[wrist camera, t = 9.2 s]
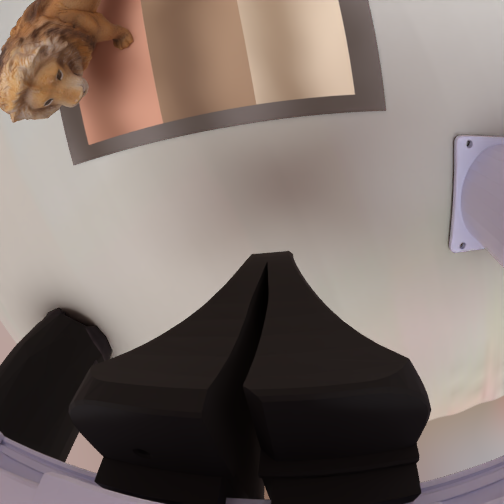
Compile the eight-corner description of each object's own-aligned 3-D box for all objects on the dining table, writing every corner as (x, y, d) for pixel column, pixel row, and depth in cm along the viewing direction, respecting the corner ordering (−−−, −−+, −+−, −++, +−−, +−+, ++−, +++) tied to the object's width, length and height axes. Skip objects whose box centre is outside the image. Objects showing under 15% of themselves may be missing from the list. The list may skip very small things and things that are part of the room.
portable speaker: (54, 355, 29) (-27, 492, 12) (36, 289, 25) (-84, 444, 8) (120, 381, 30) (51, 542, 12) (112, 316, 25) (2, 519, 8)
